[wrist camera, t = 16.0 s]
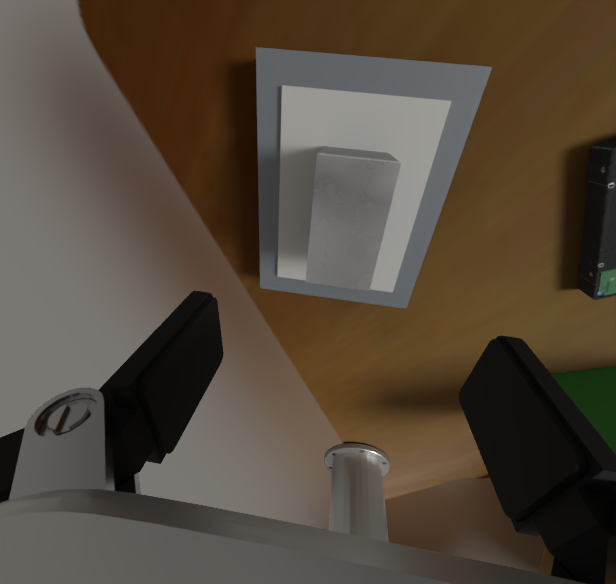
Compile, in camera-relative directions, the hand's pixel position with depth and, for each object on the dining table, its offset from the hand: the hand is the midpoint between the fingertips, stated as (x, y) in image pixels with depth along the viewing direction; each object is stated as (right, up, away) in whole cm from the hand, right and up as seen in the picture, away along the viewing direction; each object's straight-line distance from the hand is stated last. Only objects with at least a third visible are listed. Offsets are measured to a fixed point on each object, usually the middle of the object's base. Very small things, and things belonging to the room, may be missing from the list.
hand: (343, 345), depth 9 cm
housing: (+2, +9, +14) cm, 17 cm away
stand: (+3, +12, +17) cm, 21 cm away
